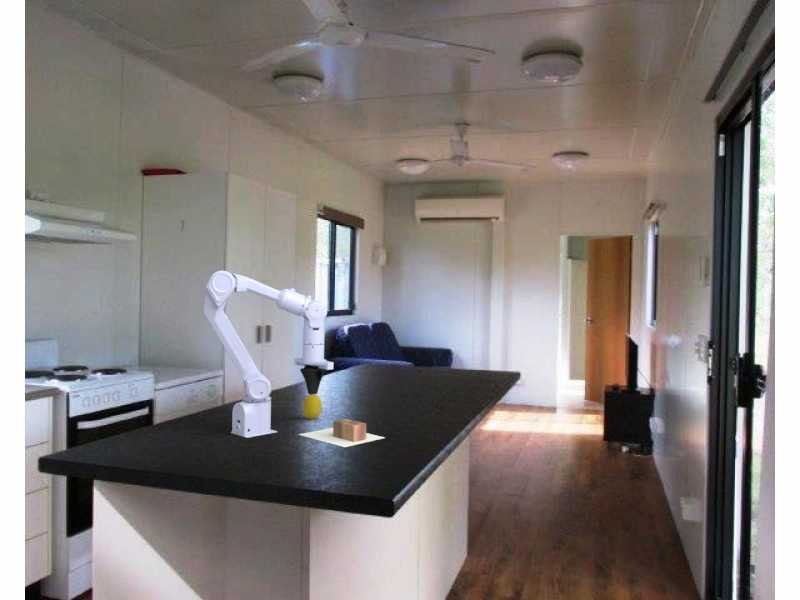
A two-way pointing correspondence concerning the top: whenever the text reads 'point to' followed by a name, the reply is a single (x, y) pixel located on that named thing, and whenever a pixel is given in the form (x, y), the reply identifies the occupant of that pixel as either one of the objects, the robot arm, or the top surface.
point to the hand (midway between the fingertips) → (312, 393)
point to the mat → (327, 436)
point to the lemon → (312, 406)
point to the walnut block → (349, 430)
